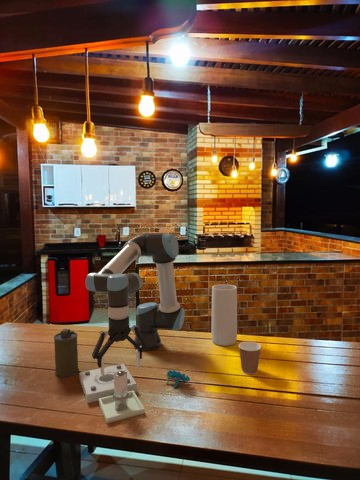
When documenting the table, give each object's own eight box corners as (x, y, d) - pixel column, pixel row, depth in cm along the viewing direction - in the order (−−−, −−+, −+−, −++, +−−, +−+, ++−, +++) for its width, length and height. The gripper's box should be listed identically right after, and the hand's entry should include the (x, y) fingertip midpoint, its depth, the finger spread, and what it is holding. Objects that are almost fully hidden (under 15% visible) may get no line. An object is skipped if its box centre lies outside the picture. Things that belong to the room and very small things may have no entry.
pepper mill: (126, 401, 133) (126, 367, 132) (131, 409, 128) (130, 374, 127) (111, 404, 131) (110, 370, 129) (115, 413, 125) (114, 377, 124)
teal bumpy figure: (194, 379, 147) (183, 370, 141) (190, 393, 144) (179, 384, 138) (173, 376, 153) (162, 367, 148) (169, 389, 150) (157, 380, 144)
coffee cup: (262, 368, 161) (263, 343, 160) (258, 378, 152) (258, 351, 151) (241, 364, 165) (241, 340, 164) (235, 373, 156) (235, 348, 155)
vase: (238, 346, 186) (239, 289, 184) (212, 346, 187) (212, 290, 184) (234, 336, 201) (235, 284, 198) (210, 336, 201) (210, 284, 198)
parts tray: (133, 395, 139) (133, 390, 138) (144, 413, 126) (144, 408, 126) (98, 403, 133) (98, 398, 133) (106, 423, 120) (106, 418, 120)
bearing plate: (123, 370, 159) (123, 362, 159) (136, 391, 141) (136, 381, 141) (79, 380, 151) (79, 370, 151) (87, 403, 133) (87, 392, 132)
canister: (71, 378, 153) (69, 334, 151) (50, 375, 155) (48, 333, 153) (83, 367, 164) (81, 326, 162) (63, 365, 166) (61, 325, 164)
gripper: (147, 308, 135) (148, 360, 137) (82, 318, 124) (85, 373, 127) (154, 314, 128) (155, 368, 130) (85, 324, 118) (88, 383, 120)
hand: (120, 371), depth 128 cm, fingers open, 13 cm apart
